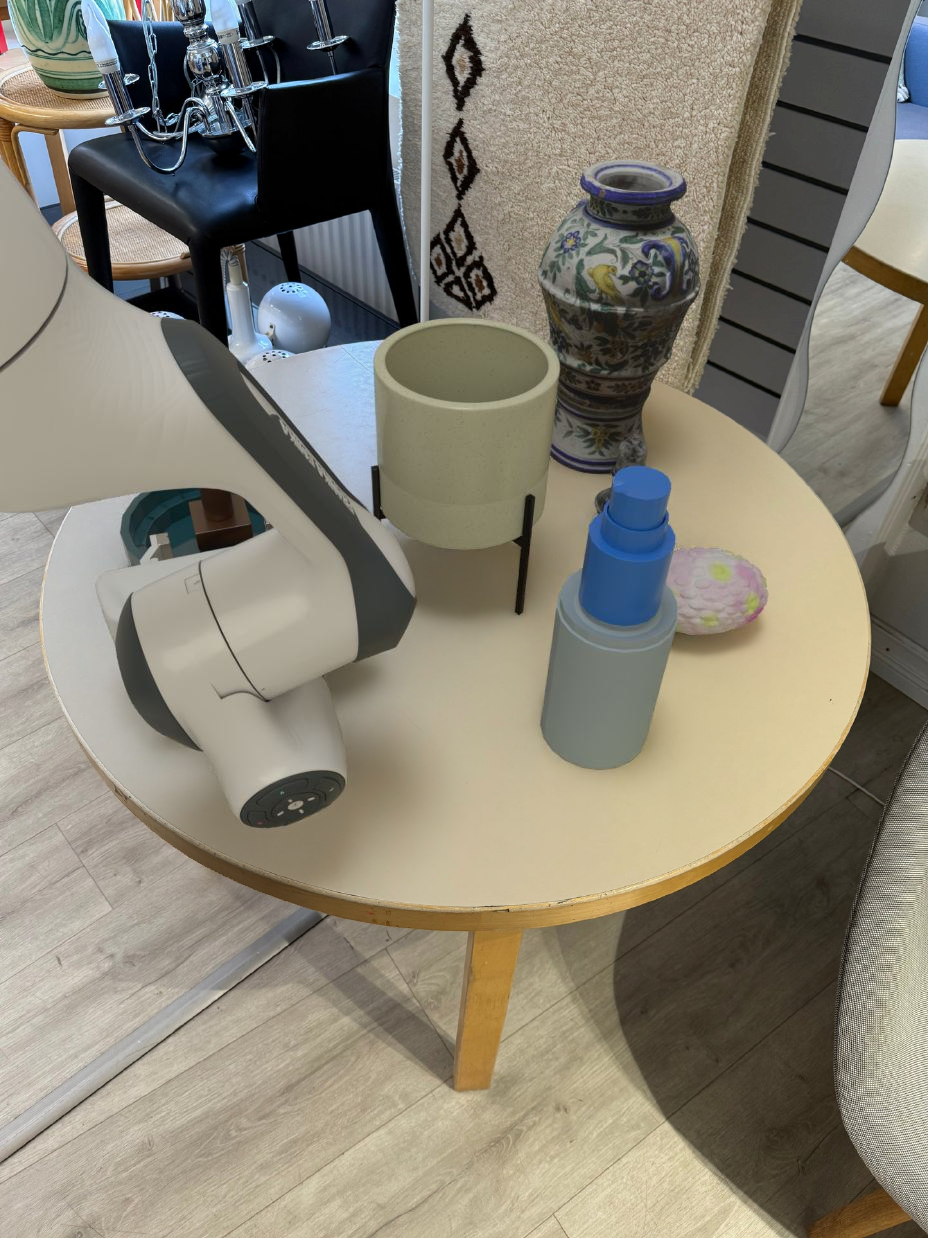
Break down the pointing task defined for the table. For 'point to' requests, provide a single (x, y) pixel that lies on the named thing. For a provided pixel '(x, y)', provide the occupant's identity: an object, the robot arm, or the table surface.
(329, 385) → the table surface
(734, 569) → the decorative item
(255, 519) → the dish
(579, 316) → the vase
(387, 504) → the planter
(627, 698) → the spray bottle
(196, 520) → the post on square base
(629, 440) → the salt shaker
